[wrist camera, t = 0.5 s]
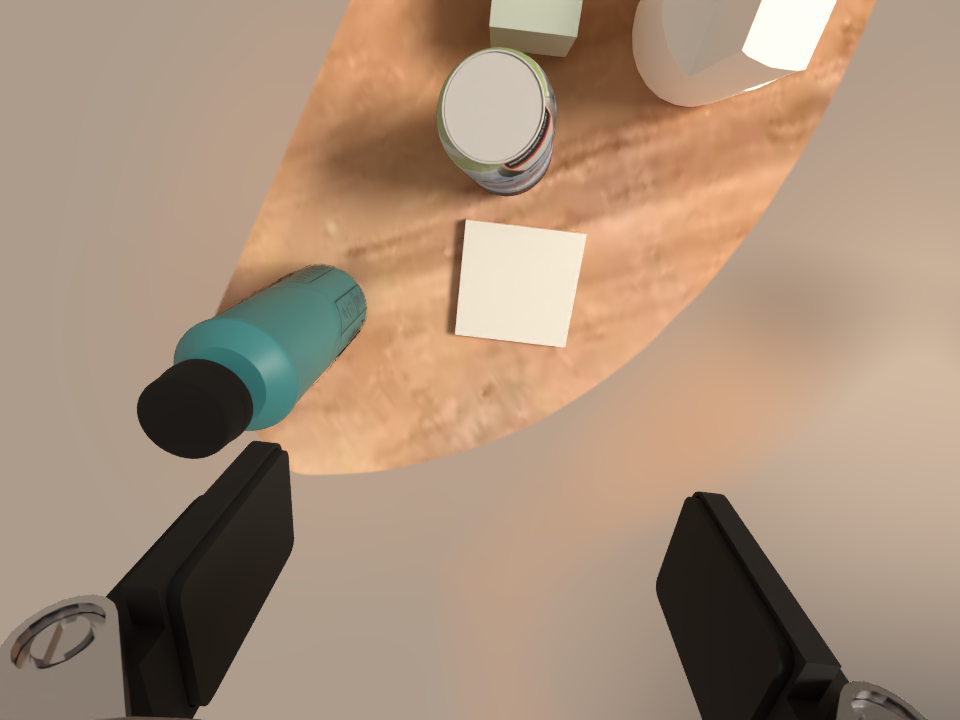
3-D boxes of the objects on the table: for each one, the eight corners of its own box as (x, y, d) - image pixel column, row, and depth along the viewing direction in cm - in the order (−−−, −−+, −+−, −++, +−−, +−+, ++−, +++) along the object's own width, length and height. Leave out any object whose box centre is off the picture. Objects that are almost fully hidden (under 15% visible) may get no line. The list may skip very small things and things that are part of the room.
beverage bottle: (306, 245, 36) (101, 322, 17) (386, 278, 37) (271, 386, 18) (286, 319, 38) (87, 456, 20) (362, 349, 39) (239, 507, 20)
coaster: (466, 218, 35) (465, 219, 34) (584, 232, 35) (586, 234, 34) (455, 331, 38) (455, 334, 37) (563, 343, 38) (564, 347, 37)
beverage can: (507, 212, 34) (511, 231, 23) (434, 137, 33) (400, 119, 22) (570, 146, 33) (607, 131, 21) (496, 62, 31) (494, 0, 20)
